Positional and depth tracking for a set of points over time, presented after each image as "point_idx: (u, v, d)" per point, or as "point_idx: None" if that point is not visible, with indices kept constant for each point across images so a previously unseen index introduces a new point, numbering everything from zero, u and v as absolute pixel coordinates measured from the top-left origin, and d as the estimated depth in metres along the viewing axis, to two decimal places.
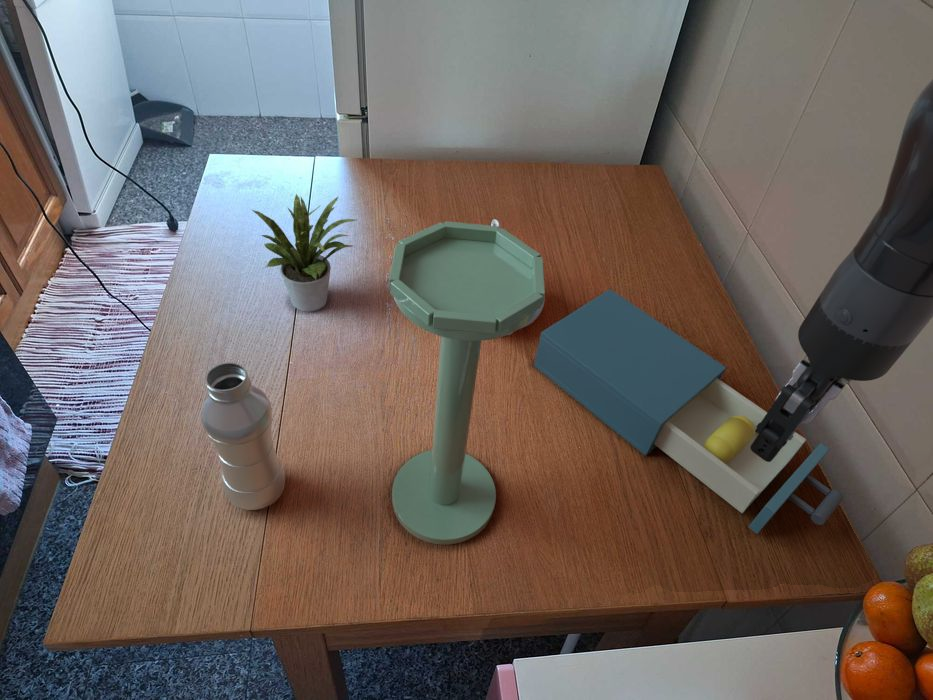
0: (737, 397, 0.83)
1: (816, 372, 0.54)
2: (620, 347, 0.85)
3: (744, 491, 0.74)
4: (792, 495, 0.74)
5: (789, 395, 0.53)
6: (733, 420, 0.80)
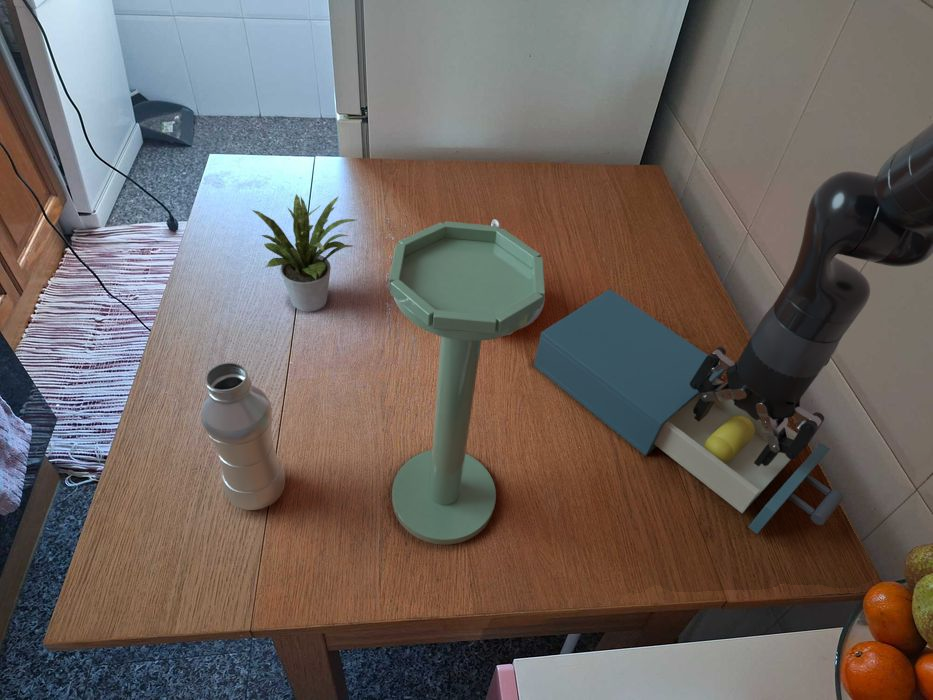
0: None
1: None
2: (620, 347, 0.85)
3: (744, 491, 0.74)
4: (792, 495, 0.74)
5: (715, 349, 0.76)
6: (733, 420, 0.80)
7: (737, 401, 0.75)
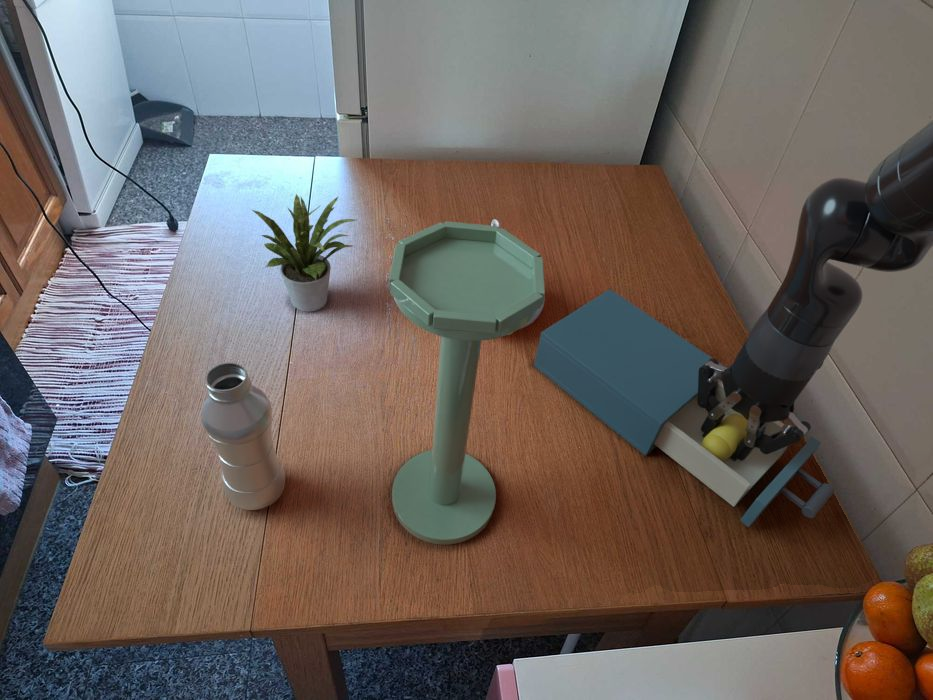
0: None
1: None
2: (620, 347, 0.85)
3: (735, 484, 0.74)
4: (783, 488, 0.74)
5: (707, 362, 0.78)
6: (736, 421, 0.80)
7: None
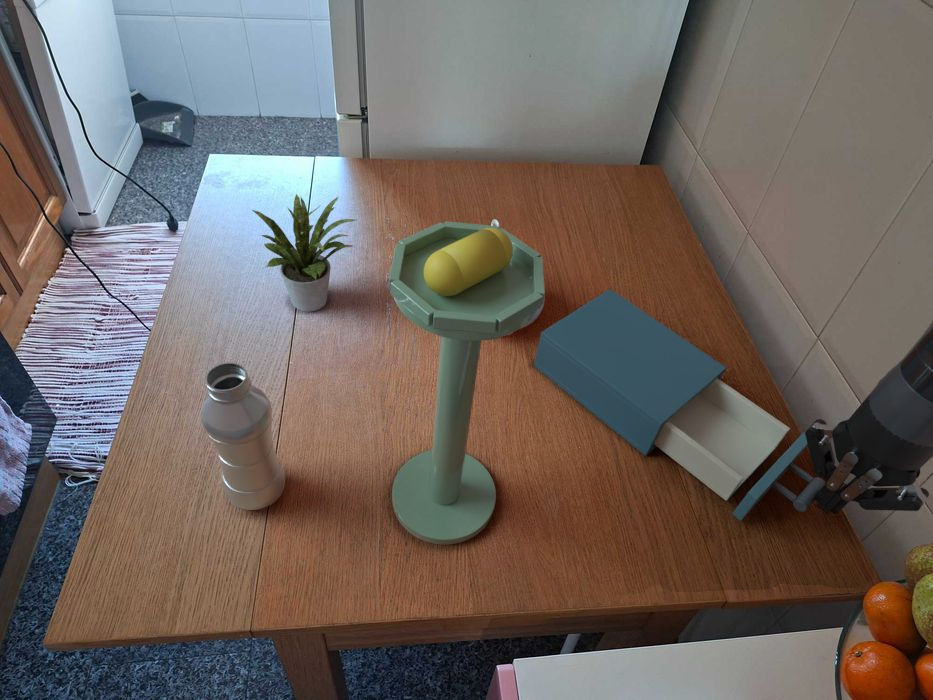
0: (722, 387, 0.84)
1: (849, 418, 0.67)
2: (620, 347, 0.85)
3: (728, 478, 0.75)
4: (775, 482, 0.75)
5: None
6: (482, 233, 0.50)
7: None
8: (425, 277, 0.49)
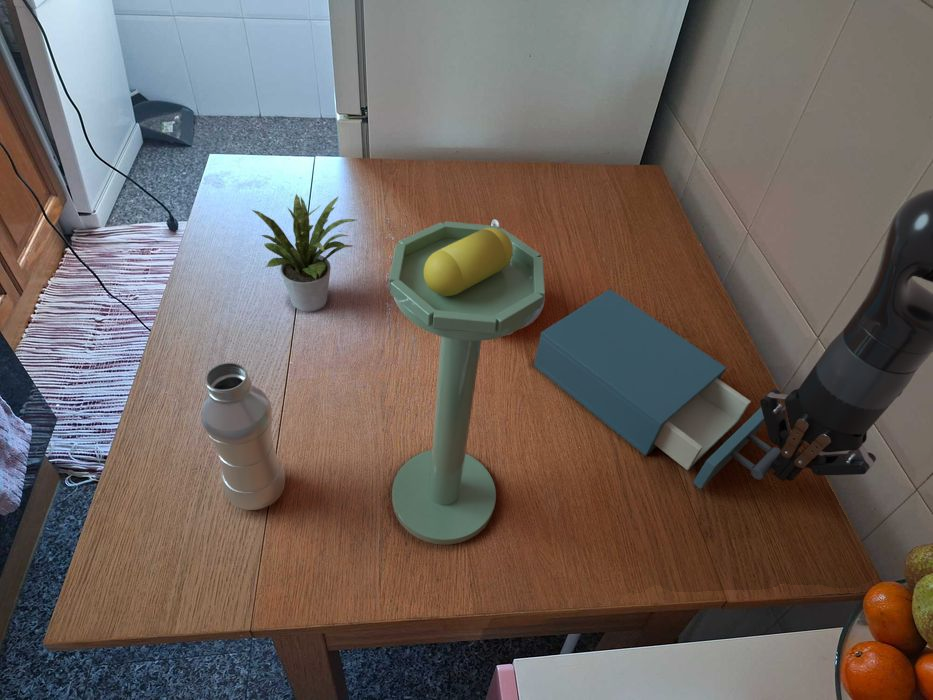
0: None
1: None
2: (620, 347, 0.85)
3: (688, 448, 0.77)
4: (734, 452, 0.78)
5: (768, 394, 0.74)
6: (482, 233, 0.50)
7: None
8: (425, 277, 0.49)
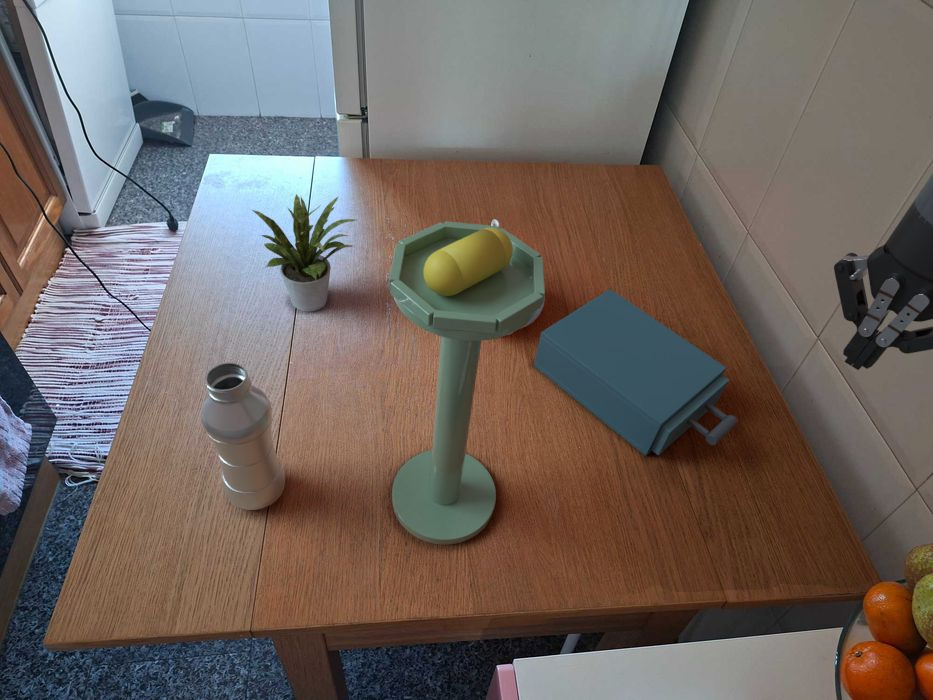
0: None
1: None
2: (620, 347, 0.85)
3: None
4: (690, 419, 0.81)
5: None
6: (482, 233, 0.50)
7: None
8: (425, 277, 0.49)
